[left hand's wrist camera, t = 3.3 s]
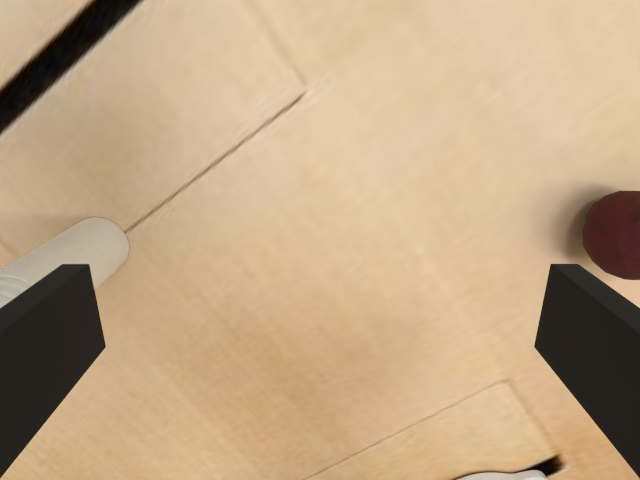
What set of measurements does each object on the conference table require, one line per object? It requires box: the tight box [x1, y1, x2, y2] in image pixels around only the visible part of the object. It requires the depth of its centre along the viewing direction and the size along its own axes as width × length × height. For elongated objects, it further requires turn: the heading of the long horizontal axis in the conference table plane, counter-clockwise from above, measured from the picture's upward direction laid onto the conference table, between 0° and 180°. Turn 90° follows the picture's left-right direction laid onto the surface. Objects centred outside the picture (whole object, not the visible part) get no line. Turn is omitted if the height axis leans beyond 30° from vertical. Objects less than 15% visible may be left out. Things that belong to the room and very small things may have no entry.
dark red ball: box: [583, 191, 640, 280], centre depth 38 cm, size 7×8×7 cm
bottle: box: [0, 217, 129, 308], centre depth 34 cm, size 6×6×18 cm
